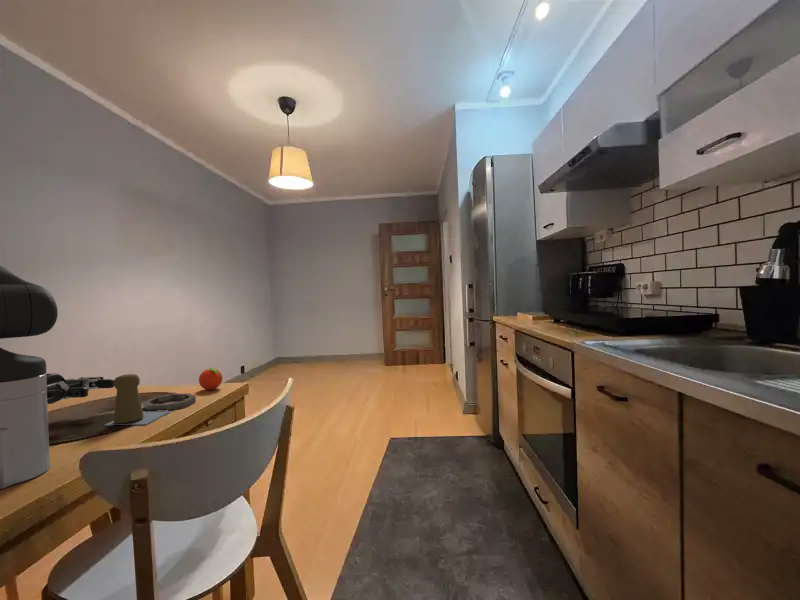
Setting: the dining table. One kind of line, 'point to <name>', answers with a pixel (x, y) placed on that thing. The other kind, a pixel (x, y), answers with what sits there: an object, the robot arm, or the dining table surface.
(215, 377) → the clementine
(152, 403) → the dark grey flat ring
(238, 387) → the dining table surface
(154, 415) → the rubber mat
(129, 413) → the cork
